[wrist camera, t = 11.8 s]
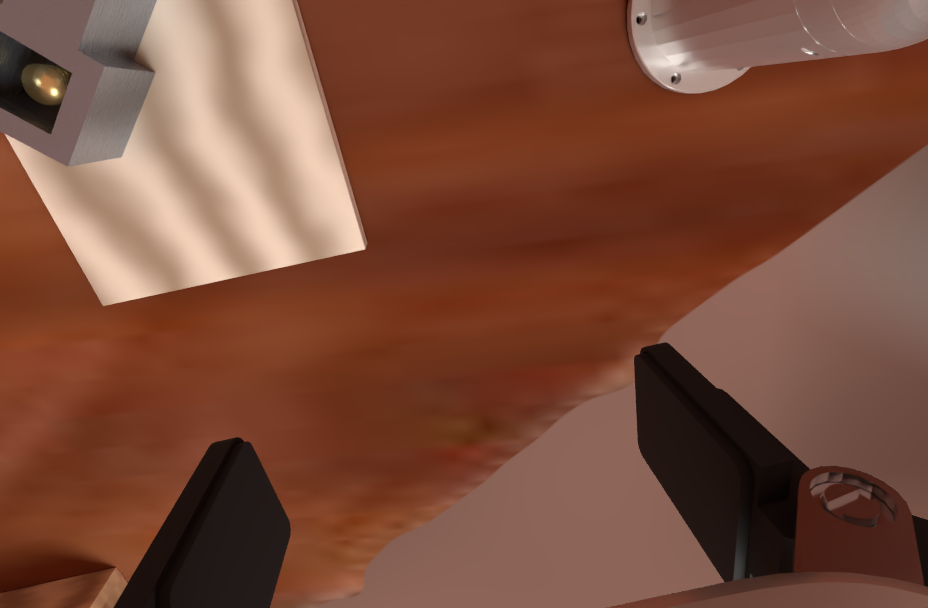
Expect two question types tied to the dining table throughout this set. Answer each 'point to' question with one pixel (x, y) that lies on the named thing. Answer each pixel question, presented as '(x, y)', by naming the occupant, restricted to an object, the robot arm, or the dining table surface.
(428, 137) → the dining table surface
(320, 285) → the dining table surface
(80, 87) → the link
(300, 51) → the board
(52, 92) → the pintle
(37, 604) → the box
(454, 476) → the dining table surface
